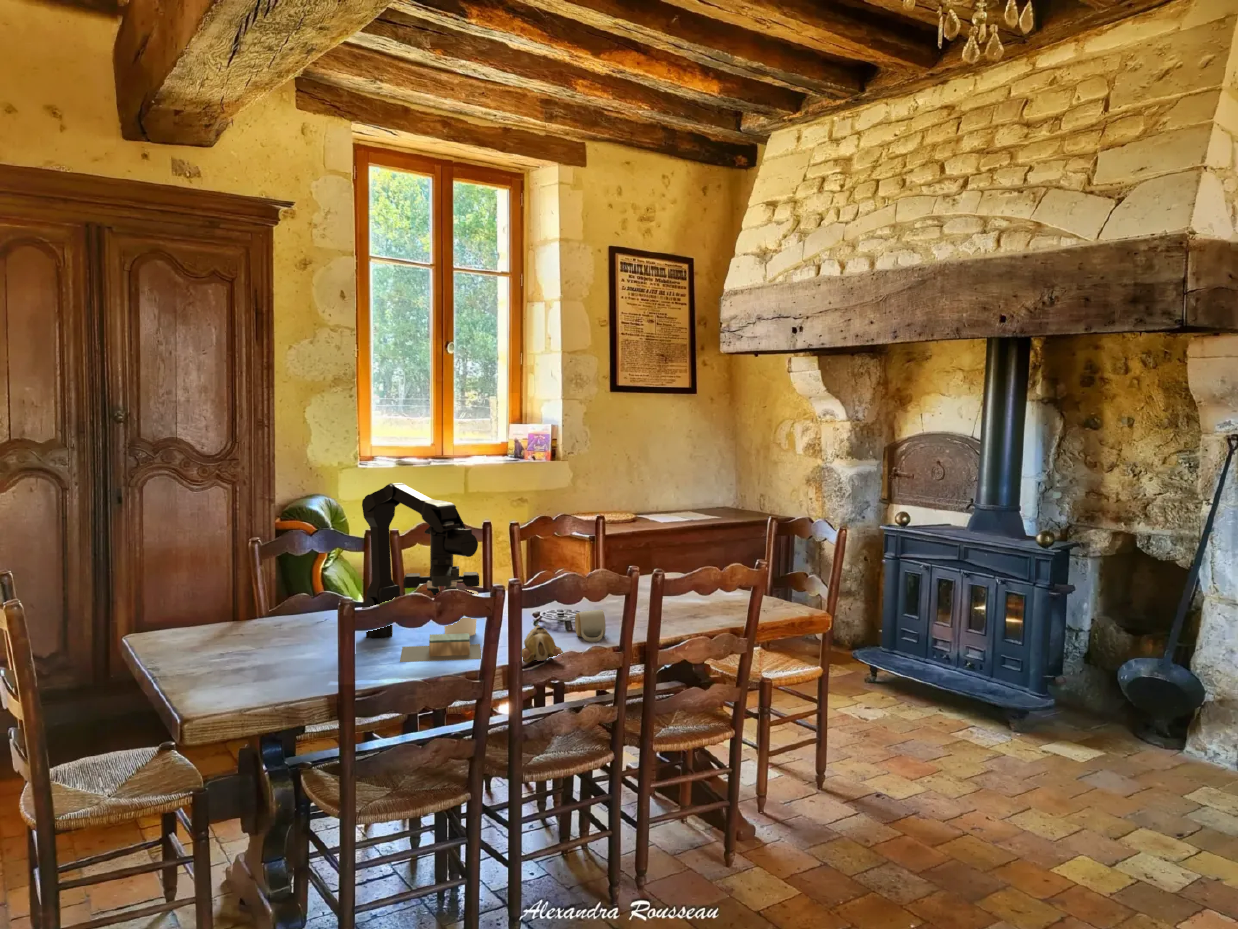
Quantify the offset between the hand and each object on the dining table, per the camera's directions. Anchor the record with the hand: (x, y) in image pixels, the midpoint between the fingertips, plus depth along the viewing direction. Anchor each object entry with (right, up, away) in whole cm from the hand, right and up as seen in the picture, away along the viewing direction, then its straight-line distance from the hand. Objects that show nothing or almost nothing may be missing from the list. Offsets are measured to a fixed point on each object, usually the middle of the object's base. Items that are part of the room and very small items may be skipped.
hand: (441, 613), depth 228 cm
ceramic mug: (+38, -11, +21) cm, 44 cm away
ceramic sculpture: (+25, -12, -1) cm, 28 cm away
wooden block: (-3, -8, 0) cm, 9 cm away
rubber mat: (0, -11, +1) cm, 11 cm away
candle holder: (+1, -10, +20) cm, 23 cm away
